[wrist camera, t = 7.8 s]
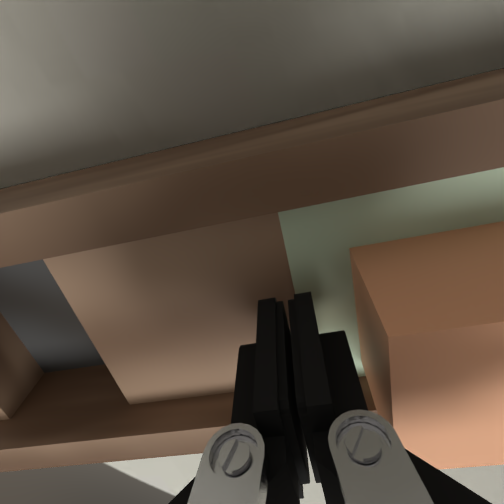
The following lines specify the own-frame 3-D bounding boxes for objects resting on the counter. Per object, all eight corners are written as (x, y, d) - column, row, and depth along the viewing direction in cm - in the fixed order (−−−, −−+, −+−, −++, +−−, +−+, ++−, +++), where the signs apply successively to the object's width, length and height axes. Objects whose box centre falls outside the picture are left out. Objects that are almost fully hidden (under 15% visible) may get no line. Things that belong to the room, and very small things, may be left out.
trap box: (-89, 210, 14) (-229, 265, 10) (741, 10, 10) (1064, -29, 6) (45, 389, 19) (-14, 473, 15) (633, 310, 15) (766, 399, 11)
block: (349, 248, 11) (388, 336, 7) (524, 217, 10) (664, 300, 6) (361, 362, 13) (396, 472, 9) (504, 344, 12) (600, 457, 9)
